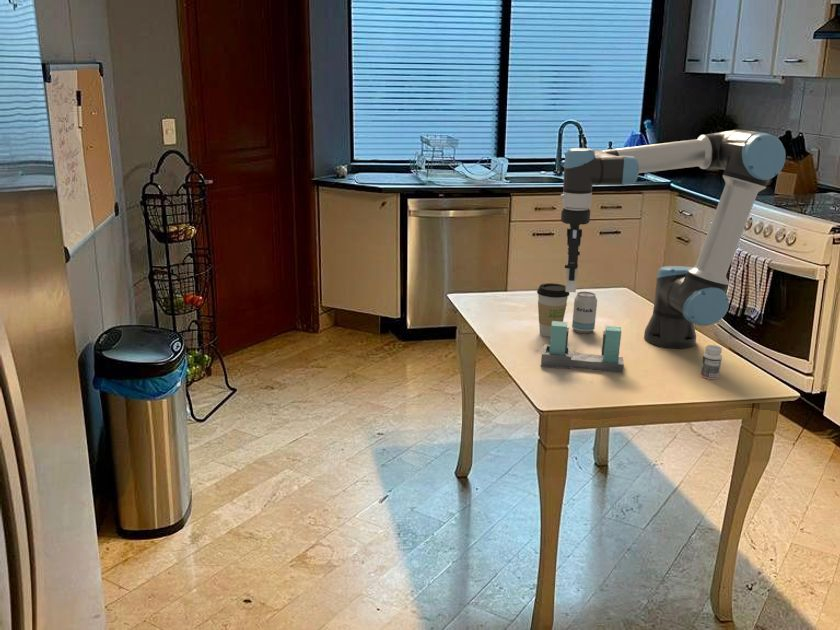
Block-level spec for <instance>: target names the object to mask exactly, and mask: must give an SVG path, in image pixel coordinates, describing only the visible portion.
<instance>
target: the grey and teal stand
mask: <svg viewBox="0 0 840 630" xmlns="http://www.w3.org/2000/svg"><path fill="white" fill-rule="evenodd" d="M602 332H603V334H602V343H601V354H592V353H583V352H582V353H581V352H573V347H572V346H567V352H565V355H560V354H550V353H549V350H550V344H543V345H542V352H541V361H540V367H544V368H556V369H567V370H571V369H577V370H578V369H579V370H587V371H588V370H589V371H598V372H606V373H607V372H609V373H618V374H624V366H625V365H624V364H625V362H624V357H621V356H620V347H621V339H622V327H621V326H613V325H605V330H603V331H602Z"/></svg>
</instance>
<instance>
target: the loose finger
mask: <svg viewBox="0 0 840 630" xmlns="http://www.w3.org/2000/svg"><path fill="white" fill-rule="evenodd" d="M569 329H570V327H568V321H563V322H559V321H552V326H551V337H549V338H550V339H549V345H550V350H549V353H550V354H560V355H565V352H567V347H568V342H569V334H570V333H569Z"/></svg>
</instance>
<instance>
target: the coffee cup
mask: <svg viewBox="0 0 840 630" xmlns="http://www.w3.org/2000/svg"><path fill="white" fill-rule="evenodd" d="M565 290H566V285H565V284H559V283H553V282H552V283H551V282H549V283H541V284H540V285H539V287H538V288H537V289H536V294H537V297H538V300H537V308H538V311H537V312H538V313H537V314H538V323H539V334H540V335H541V336H542V337H543V336H544V337H547V338H551V326H552V321H559V322H564V319H565V315H566V309H567V304H568V303H567V301H568V297H569V296H570V292H565Z"/></svg>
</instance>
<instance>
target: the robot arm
mask: <svg viewBox="0 0 840 630" xmlns="http://www.w3.org/2000/svg"><path fill="white" fill-rule="evenodd" d="M785 162H786V149H785V147H784V145H783V143H782V141H781V140H780V138H778V137H777V136H775V135H773V134H769V133H766V132H761V131H755V130H754V131H752V130H746V129H732V130H731V129H730V130H724V131H719V132H714V133H707V134H700V135H699V136H698V137H697V139H696V138H695V139H688V140H687V139H686V140H680V141H678V140H677V141H670V142H663V143H653V144H645V145H638V146H636V145H635V146H630V147H629V146H627V147H620V148H618V147H617V148H612V149H603V150H601V149H596V148H595V149H592V148H588V147H586V148H585V147H583V148H582V147H574V148H573V147H572V148H569V149H567V150H566V152H565V157H564V165H563V168H564V169H563V186H562V188H563V189H562V194H560V199H562V201H561V202H562V203H561V205H562V208H561V212H560V213H561V214H560V222H561V223H563V224H566V225H569V227H568V228H567V229H566V238H567V241H566V243H567V244H566V245H567V246H568V248H567V250H568V251H567V260H566V264H565V265H564V269H566V274H565V275H566V276H565V279H566V280H565V286H566V290H565V292H569V293H576V292H577V283H578V282H577V280H578V279H577V278H578V268H579V263H578V261H579V256H581V255H580V254H581V251H579V247H581V243H582V242H581V239H582V235H583V228H580V225H587V224H589V223H590V219H591V210H590V208H591V207H592V195H593V186H623V187H624V186H627V185H630V186H631V185H633V184H635V183H636V182H637V180H638V177H639V174H642V173H652V172H660V171H661V172H662V171H668V170H669V171H670V170H678V169H685V168H695V167H698V168H699V169H702V170H708V169H710V170H711V169H716V170H723V173H722V178H723V180H724V183H725V185H724V188H723V191H722V193H721V195H720V198H719V201H718V204H717V206H716V209H715V213H714V214H713V217H712V220H711V222H710V226H709V228H708V231H707V234H706V236H705V239H704V241H703V244H702V247H701V250H700V253H699V254H698V255H699V256H698V257H697V261H696V262H695V265H694V266H693V267H692V266H682V265H681V266H680V265H677V266H676V265H667V266H662V267H660V268H659V269H658V272H657V276H656V281H655V282H656V283H655V285H656V286H655V292H654V299H653V309H652V315H651V316H650V319H649V321H648V323H647V325H646V327H645V329H644V333H643V334H644V335H643V338H644V340H645V341H646V342H648V343H650V344H652V345H654V346H657V347H662V348H668V349H669V348H670V349H688V348H692V347H694V346H695V345H696V342H697V333H696V326H695V325H697V326H701V327H706V326H707V327H708V326H712V325H714V324H715V323H718V322H719V321H721V320H722V319H723V318H724V317H725V315H726V314H727V312H728V310H729V306H730V300H729V299H728V298H729V297H728V294H727V293H726V292H727V290H728V286H729V285H730V282H729V280H728V278H727V273H728V272H729V269H730V266H731V264H732V261H733V258H734V256H735V253H736V251H737V248H738V245H739V242H740V240H741V237H742V234H743V233H744V229H745V226H746V224H747V221H748V220H749V217H750V214H751V211H752V208H753V206H754V204H755V201H756V198H757V196H758V193H759V192H761V191H763V190H766V188H767V187H768V186H767V185H768V183H769V181H770V180H771V179H773V178H774V177H776V176H777V175H779V174H780V173H781V171H782V170H783V168H784V165H785Z"/></svg>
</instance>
